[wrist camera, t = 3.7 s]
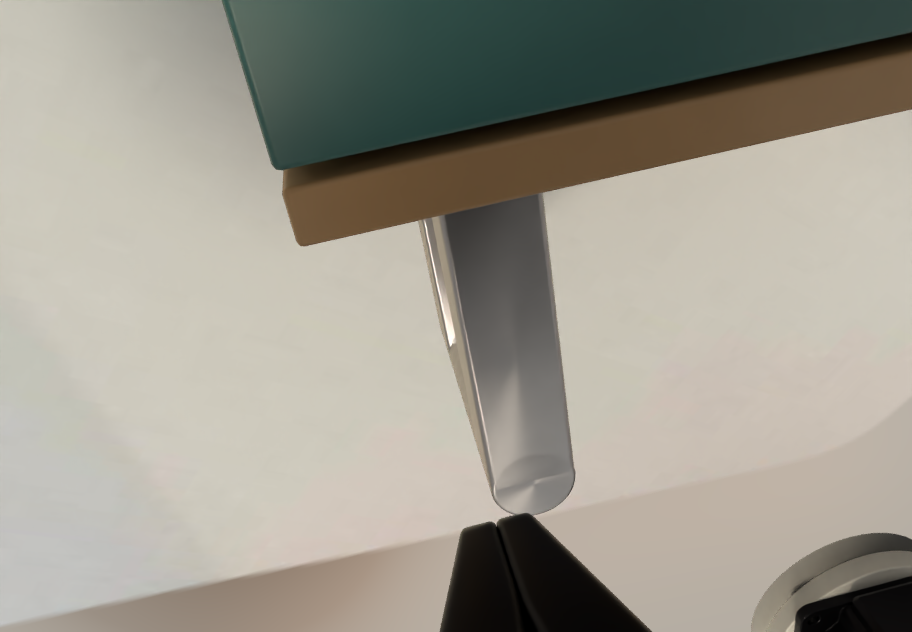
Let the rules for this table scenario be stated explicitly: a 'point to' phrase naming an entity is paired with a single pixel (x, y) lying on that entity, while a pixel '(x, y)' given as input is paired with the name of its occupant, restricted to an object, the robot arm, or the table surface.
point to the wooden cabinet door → (525, 233)
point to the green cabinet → (503, 58)
